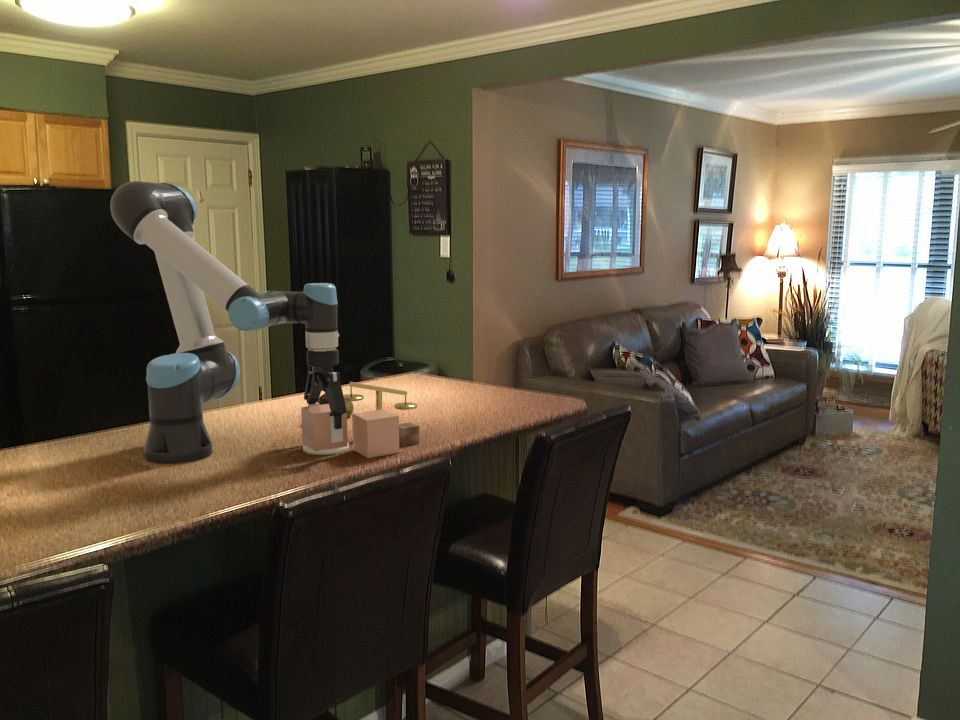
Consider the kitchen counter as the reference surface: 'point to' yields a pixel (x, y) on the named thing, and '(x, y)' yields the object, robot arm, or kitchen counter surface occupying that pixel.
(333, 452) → the dish
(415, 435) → the gray metal block
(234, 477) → the kitchen counter surface
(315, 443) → the peach pink cube
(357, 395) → the balance
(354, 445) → the tan cardboard-like box
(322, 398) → the potato
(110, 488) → the kitchen counter surface
